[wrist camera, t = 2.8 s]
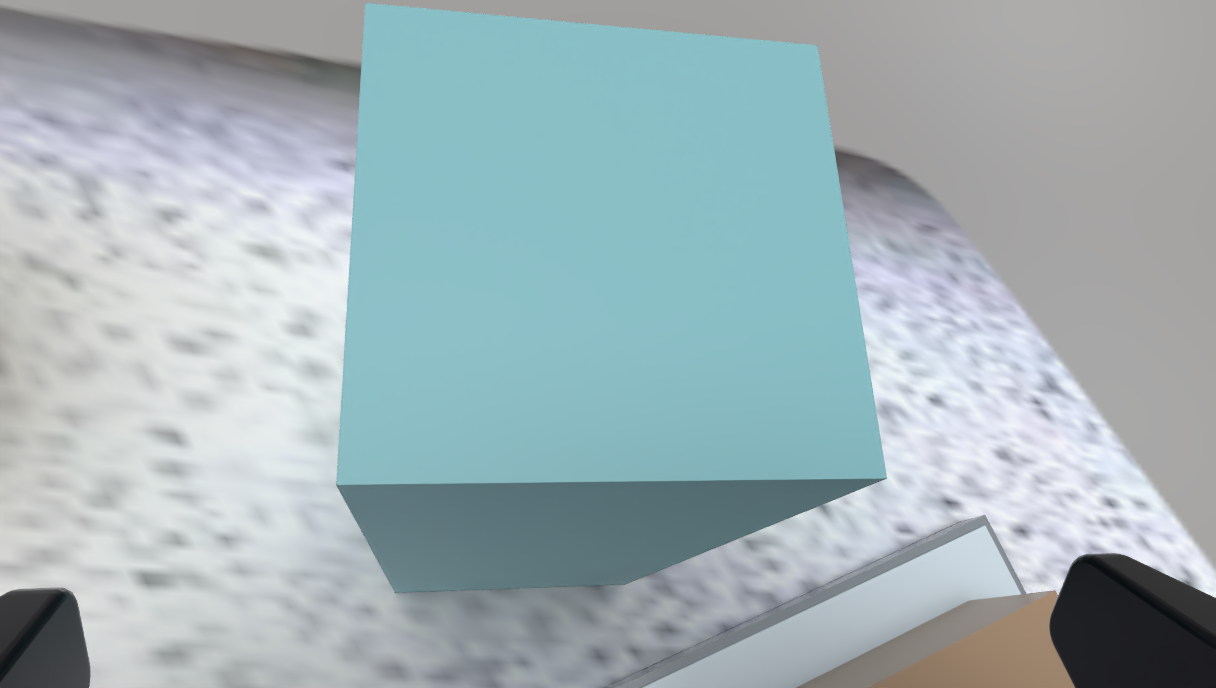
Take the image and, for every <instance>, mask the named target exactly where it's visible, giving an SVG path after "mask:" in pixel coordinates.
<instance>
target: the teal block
mask: <svg viewBox="0 0 1216 688" xmlns="http://www.w3.org/2000/svg"><path fill="white" fill-rule="evenodd" d="M884 479H887V476H886V470H885V464H884V457H883V451H882V445H881V439H880V433H879V426H878V420H877V414H876V408H875V401H874V395H873V389H872V383H871V377H870V370H869V364H868V358H867V352H866V345H865V339H864V333H863V327H862V320H861V314H860V308H859V302H858V296H857V289H856V283H855V277H854V271H853V264H852V258H851V252H850V246H849V239H848V233H847V227H846V221H845V215H844V208H843V202H842V196H841V190H840V183H839V177H838V171H837V165H836V159H835V152H834V146H833V140H832V134H831V127H830V122H829V115H828V109H827V102H826V96H825V90H824V84H823V78H822V72H821V65H820V59H819V53H818V46H817V45H808V44H798V43H787V42H776V41H765V40H755V39H743V38H733V37H723V36H711V35H701V34H690V33H680V32H670V31H659V30H648V29H638V28H627V27H616V26H606V25H595V24H584V23H573V22H562V21H552V20H542V19H530V18H520V17H510V16H499V15H487V14H477V13H467V12H456V11H445V10H435V9H424V8H414V7H403V6H392V5H382V4H371V3H365V18H364V34H363V51H362V68H361V84H360V101H359V117H358V134H357V151H356V167H355V184H354V200H353V217H352V234H351V250H350V267H349V283H348V300H347V317H346V333H345V350H344V366H343V383H342V400H341V416H340V433H339V450H338V466H337V483H336V485H337V487H338V489H339V491H340V492H341V494H342V496H343V498H344V500H345V502H346V503H347V505H348V507H349V509H350V511H351V513H352V514H353V516H354V518H355V520H356V522H357V524H358V525H359V527H360V529H361V531H362V533H363V535H364V536H365V538H366V540H367V542H368V544H369V546H370V547H371V549H372V551H373V553H374V555H375V557H376V558H377V560H378V562H379V564H380V566H381V568H382V569H383V571H384V573H385V575H386V577H387V579H388V580H389V582H390V584H391V586H392V588H393V590H394V591H395V593H399V592H427V591H455V590H483V589H511V588H539V587H567V586H596V585H624V584H627V583H630V582H632V581H635V580H637V579H640V578H642V577H644V576H647V575H649V574H652V573H654V572H657V571H659V570H662V569H664V568H667V567H669V566H672V565H674V564H677V563H679V562H682V561H684V560H686V559H689V558H691V557H694V556H696V555H699V554H701V553H704V552H706V551H709V550H711V549H714V548H716V547H719V546H721V545H724V544H726V543H728V542H731V541H733V540H736V539H738V538H741V537H743V536H746V535H748V534H751V533H753V532H756V531H758V530H761V529H763V528H766V527H768V526H771V525H773V524H775V523H778V522H780V521H783V520H785V519H788V518H790V517H793V516H795V515H798V514H800V513H803V512H805V511H808V510H810V509H813V508H815V507H817V506H820V505H822V504H825V503H827V502H830V501H832V500H835V499H837V498H840V497H842V496H845V495H847V494H850V493H852V492H855V491H857V490H860V489H862V488H864V487H867V486H869V485H872V484H874V483H877V482H879V481H882V480H884Z"/></svg>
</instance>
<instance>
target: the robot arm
mask: <svg viewBox="0 0 1216 688" xmlns="http://www.w3.org/2000/svg"><path fill="white" fill-rule="evenodd" d="M1049 631H1050V636H1051V640H1052V643H1053V645H1054V647H1055V649H1056V651H1057V653H1058V655H1059V657H1060V659H1061V661H1062V663H1063V665H1064V667H1065V669H1066V671H1067V673H1068V675H1069V677H1070V679H1071V681H1072V683H1073V685H1074V686H1075V688H1216V598H1214V597H1212V596H1210V595H1208V594H1206V593H1204V592H1202V591H1200V590H1198V589H1195V588H1193V587H1191V586H1189V585H1187V584H1185V583H1183V582H1181V581H1179V580H1176V579H1174V578H1172V577H1170V576H1168V575H1166V574H1164V573H1162V572H1160V571H1157V570H1155V569H1153V568H1151V567H1149V566H1147V565H1145V564H1143V563H1141V562H1138V561H1136V560H1134V559H1132V558H1130V557H1128V556H1125V555H1121V554H1116V553H1107V554H1086V555H1082V556H1079V557H1078V558H1077V559H1076V560H1075V561H1074V562H1073V563H1072V565H1071V566H1070V569H1069V571H1068V573H1067V576H1066V578H1065V581H1064V583H1063V586H1062V588H1061V591H1060V593H1059V596H1058V598H1057V601H1056V603H1055V606H1054V608H1053V610H1052V613H1051V616H1050V620H1049ZM89 686H90V662H89V657H88V652H87V647H86V642H85V637H84V632H83V627H82V622H81V617H80V612H79V607H78V603H77V600H76V598H75V596H74V595H73V593H72V592H71V591H69V590H67V589H65V588H37V589H18V590H13V591H10V592H7V593H6V594H4V595H2V596H0V688H89Z"/></svg>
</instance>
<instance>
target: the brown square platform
mask: <svg viewBox="0 0 1216 688" xmlns="http://www.w3.org/2000/svg"><path fill="white" fill-rule="evenodd" d="M1057 598H1058V595H1057V593H1056V591H1047V592H1038V593H1029V594H1026V592H1025V590H1024V588H1023V586H1022V584H1021V583H1020V581H1019V579H1018V577H1017V575H1016V573H1015V571H1014V569H1013V567H1012V565H1011V563H1010V562H1009V560H1008V558H1007V556H1006V554H1005V552H1004V550H1003V548H1002V546H1001V544H1000V542H999V541H998V539H997V537H996V535H995V533H994V531H993V529H992V527H991V525H990V523H989V522H988V520H987V518H986V516H985V515H983V516H979V517H976V518H972V519H968V520H964V521H961V522H959V523H956V524H954V525H952V526H950V527H948V528H946V529H944V530H941V531H939V532H937V533H935V534H933V535H931V536H929V537H926V538H924V539H922V540H920V541H918V542H916V543H914V544H911V545H909V546H907V547H905V548H903V549H901V550H899V551H896V552H894V553H892V554H890V555H888V556H886V557H884V558H881V559H879V560H877V561H875V562H873V563H871V564H869V565H866V566H864V567H862V568H860V569H858V570H856V571H854V572H851V573H849V574H847V575H845V576H843V577H841V578H839V579H836V580H834V581H832V582H830V583H828V584H826V585H824V586H821V587H819V588H817V589H815V590H813V591H811V592H809V593H806V594H804V595H802V596H800V597H798V598H796V599H794V600H791V601H789V602H787V603H785V604H783V605H781V606H779V607H776V608H774V609H772V610H770V611H768V612H766V613H764V614H761V615H759V616H757V617H755V618H753V619H751V620H749V621H746V622H744V623H742V624H740V625H738V626H736V627H734V628H731V629H729V630H727V631H725V632H723V633H721V634H719V635H716V636H714V637H712V638H710V639H708V640H706V641H704V642H701V643H699V644H697V645H695V646H693V647H691V648H689V649H686V650H684V651H682V652H680V653H678V654H676V655H674V656H671V657H669V658H667V659H665V660H663V661H661V662H659V663H656V664H654V665H652V666H650V667H648V668H646V669H644V670H641V671H639V672H637V673H635V674H633V675H631V676H629V677H626V678H624V679H622V680H620V681H618V682H616V683H614V684H611V685H609V686H607V687H605V688H1075V686H1074V685H1073V683H1072V681H1071V679H1070V677H1069V675H1068V673H1067V671H1066V669H1065V667H1064V665H1063V663H1062V661H1061V659H1060V657H1059V655H1058V653H1057V651H1056V649H1055V647H1054V645H1053V643H1052V640H1051V636H1050V631H1049V620H1050V616H1051V613H1052V610H1053V608H1054V606H1055V603H1056V601H1057Z"/></svg>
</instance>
